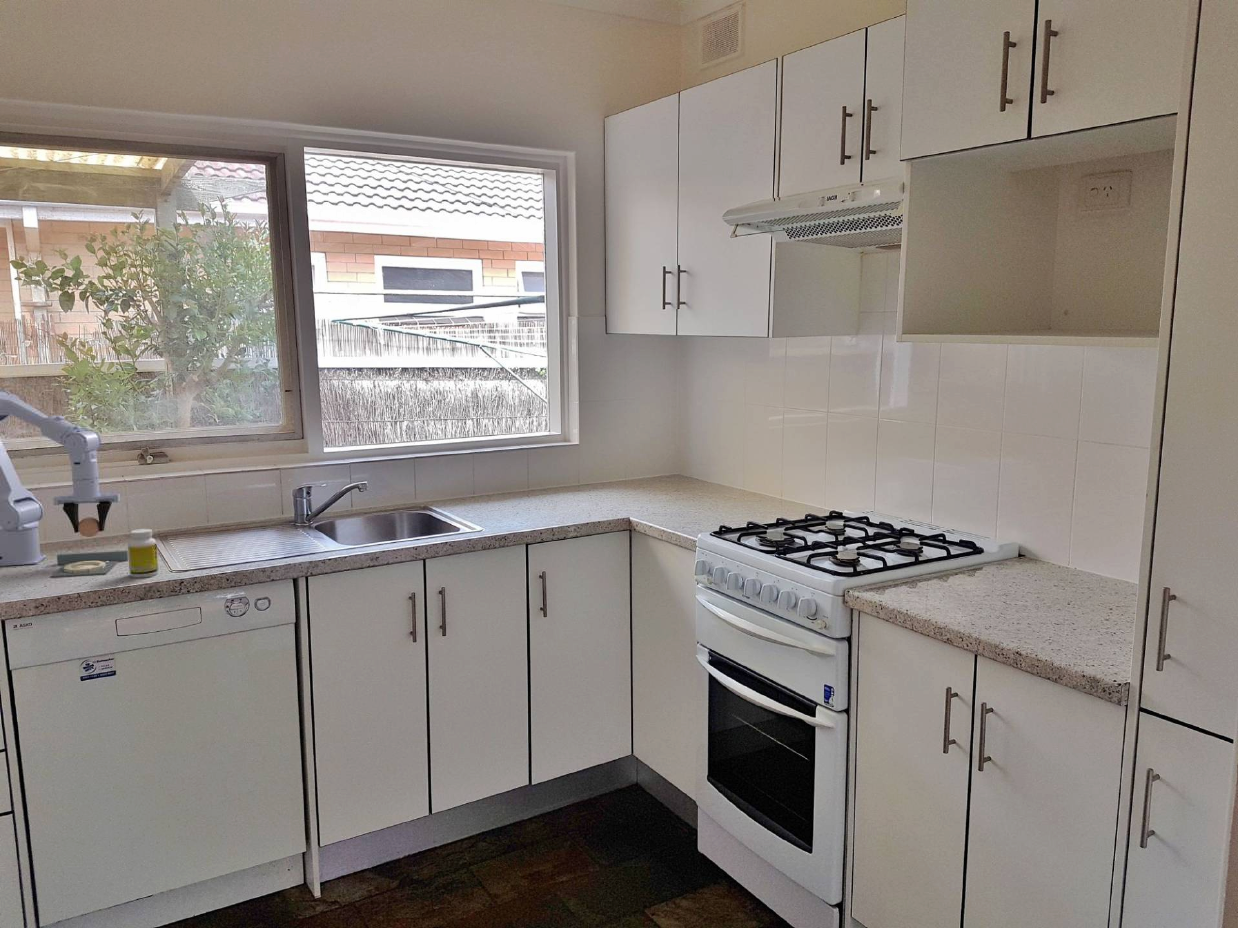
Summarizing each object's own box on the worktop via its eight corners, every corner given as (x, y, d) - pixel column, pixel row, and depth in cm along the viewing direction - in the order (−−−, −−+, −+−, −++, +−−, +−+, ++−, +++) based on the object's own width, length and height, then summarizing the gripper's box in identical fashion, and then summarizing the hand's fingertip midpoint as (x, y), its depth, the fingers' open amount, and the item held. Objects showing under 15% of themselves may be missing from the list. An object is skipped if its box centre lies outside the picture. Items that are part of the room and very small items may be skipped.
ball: (76, 539, 230) (74, 519, 229) (81, 535, 234) (80, 516, 234) (98, 538, 231) (97, 518, 230) (103, 534, 236) (101, 515, 235)
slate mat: (50, 577, 220) (50, 572, 220) (64, 565, 232) (64, 560, 231) (106, 574, 224) (105, 569, 224) (117, 562, 235) (117, 557, 235)
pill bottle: (162, 574, 224) (159, 530, 222) (135, 579, 219) (132, 534, 218) (152, 570, 228) (149, 526, 226) (125, 575, 223) (122, 530, 222)
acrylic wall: (57, 564, 233) (56, 555, 232) (58, 563, 233) (58, 554, 233) (127, 560, 237) (126, 551, 237) (128, 559, 238) (127, 550, 238)
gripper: (121, 474, 237) (124, 526, 239) (57, 477, 232) (61, 529, 234) (114, 479, 230) (118, 532, 232) (49, 481, 226) (53, 535, 228)
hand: (89, 531), depth 233 cm, fingers closed on ball, 5 cm apart
